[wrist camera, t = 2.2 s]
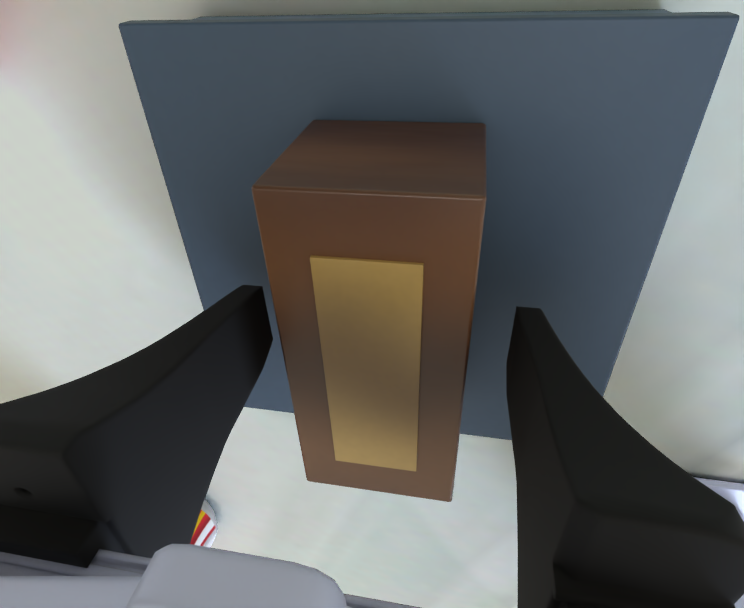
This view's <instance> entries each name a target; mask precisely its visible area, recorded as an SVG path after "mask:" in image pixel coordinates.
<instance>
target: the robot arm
mask: <svg viewBox="0 0 744 608" xmlns="http://www.w3.org/2000/svg"><path fill="white" fill-rule="evenodd" d="M272 342H273V336H272V331H271V326H270V321H269V316H268V311H267V306H266V302H265V297H264V292H263V287H262V286H254V285H241V286H240V287H238V288H237V289H235V290H234V291H232V292H231V293H229V294H228V295H226V296H225V297H223V298H222V299H220V300H219V301H218V302H216V303H215V304H213V305H212V306H211V307H209V308H208V309H206V310H205V311H203V312H202V313H200V314H199V315H197V316H196V317H195V318H193V319H192V320H190V321H189V322H187V323H186V324H184V325H182V326H181V327H179V328H178V329H176V330H175V331H173V332H171V333H170V334H168V335H167V336H165V337H163V338H162V339H160V340H159V341H157V342H155V343H153V344H152V345H150V346H148V347H146V348H144V349H142V350H141V351H139V352H137V353H135V354H133V355H131V356H129V357H127V358H125V359H123V360H121V361H119V362H116V363H114V364H112V365H110V366H107V367H105V368H103V369H101V370H98V371H96V372H94V373H92V374H89V375H87V376H84V377H82V378H79V379H77V380H74V381H71V382H69V383H66V384H63V385H60V386H57V387H55V388H52V389H49V390H46V391H43V392H40V393H37V394H33V395H30V396H26V397H23V398H19V399H16V400H13V401H9V402H6V403H2V404H0V608H420V607H414V606H409V605H403V604H398V603H392V602H387V601H381V600H376V599H370V598H365V597H359V596H354V595H349V594H343V592H342V591H341V589H340V588H339V586H338V585H337V583H336V582H335V580H334V579H332V578H330V577H329V576H327V575H325V574H324V573H322V572H321V571H319V570H317V569H315V568H311V567H308V566H305V565H301V564H298V563H295V562H290V561H284V560H278V559H272V558H267V557H261V556H255V555H250V554H244V553H238V552H232V551H227V550H221V549H215V548H210V547H204V546H198V545H192V544H190V543H191V539H192V536H193V533H194V530H195V527H196V524H197V520H198V517H199V514H200V511H201V508H202V505H203V502H204V499H205V496H206V494H207V491H208V488H209V485H210V482H211V480H212V477H213V474H214V471H215V469H216V466H217V463H218V461H219V458H220V456H221V453H222V451H223V448H224V445H225V443H226V441H227V439H228V436H229V434H230V432H231V430H232V428H233V426H234V424H235V422H236V420H237V418H238V416H239V415H240V413H241V411H242V409H243V407H244V405H245V403H246V401H247V399H248V397H249V395H250V393H251V392H252V390H253V388H254V386H255V384H256V382H257V380H258V378H259V376H260V374H261V372H262V370H263V368H264V365H265V362H266V359H267V357H268V354H269V351H270V348H271V345H272ZM506 395H507V404H508V412H509V420H510V428H511V436H512V444H513V451H514V459H515V468H516V480H517V523H518V608H744V484H742V483H734V482H726V481H718V480H711V479H703V478H695V477H692V476H691V475H690V474H688V473H687V472H686V471H684V470H683V469H682V468H680V467H679V466H678V465H676V464H675V463H674V462H673V461H671V460H670V459H669V458H667V457H666V456H665V455H664V454H662V453H661V452H660V451H659V450H657V449H656V448H655V447H654V446H653V445H651V444H650V443H649V442H648V441H647V440H646V439H645V438H644V437H642V436H641V435H640V434H639V433H638V432H637V431H636V430H635V429H633V428H632V427H631V426H630V425H629V424H628V423H627V422H626V421H625V420H624V419H623V418H622V417H621V416H620V415H619V414H618V413H617V412H616V411H615V410H614V409H613V408H612V407H611V406H610V405H609V404H608V403H607V402H606V400H605V399H604V398H603V397H602V396H601V395H600V394H599V392H598V391H597V390H596V389H595V388H594V386H593V385H592V384H591V383H590V381H589V380H588V379H587V378H586V376H585V375H584V374H583V373H582V371H581V370H580V369H579V367H578V366H577V364H576V363H575V362H574V360H573V359H572V357H571V356H570V354H569V353H568V352H567V350H566V349H565V347H564V346H563V344H562V343H561V341H560V339H559V338H558V336H557V335H556V333H555V331H554V330H553V328H552V326H551V325H550V323H549V321H548V319H547V318H546V316H545V314H544V312H543V311H542V310H541V309H540V308H531V307H518V306H516V312H515V317H514V323H513V329H512V334H511V340H510V345H509V351H508V356H507V362H506Z"/></svg>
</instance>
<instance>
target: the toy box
mask: <svg viewBox="0 0 744 608" xmlns="http://www.w3.org/2000/svg"><path fill="white" fill-rule="evenodd" d="M738 21H739V15H737V14H733V13H730V12H689V13H672V12H669V11H667V10H664V9H658V10H595V11H531V12H468V13H404V14H341V15H277V16H214V17H199V18H196V19H192V20H143V21H127V22H123V23H120V24H119V29H120V32H121V36H122V39H123V42H124V46H125V49H126V52H127V56H128V59H129V62H130V66H131V69H132V72H133V76H134V79H135V82H136V86H137V89H138V92H139V96H140V99H141V102H142V106H143V109H144V112H145V116H146V119H147V122H148V126H149V129H150V132H151V136H152V139H153V142H154V146H155V149H156V152H157V156H158V159H159V162H160V166H161V169H162V172H163V176H164V179H165V182H166V186H167V189H168V192H169V196H170V199H171V202H172V206H173V209H174V212H175V216H176V219H177V222H178V226H179V229H180V232H181V236H182V239H183V242H184V246H185V249H186V252H187V256H188V259H189V262H190V266H191V269H192V272H193V276H194V279H195V282H196V286H197V289H198V292H199V296H200V299H201V302H202V306H203V309H204V311H205V310H206V309H208V308H209V307H211V306H212V305H213V304H215V303H216V302H218V301H219V300H220V299H222V298H223V297H225V296H226V295H228V294H229V293H231V292H232V291H234V290H235V289H237V288H238V287H240V286H241V285H254V286H262V287H263V292H264V297H265V302H266V306H267V311H268V316H269V321H270V326H271V331H272V336H273V342H272V345H271V348H270V351H269V354H268V357H267V359H266V362H265V365H264V368H263V370H262V372H261V374H260V376H259V378H258V380H257V382H256V384H255V386H254V388H253V390H252V392H251V393H250V395H249V397H248V399H247V401H246V403H245V405H244V407H250V408H258V409H266V410H274V411H282V412H290V413H294V409H293V404H292V398H291V393H290V388H289V383H288V378H287V372H286V367H285V362H284V357H283V351H282V346H281V341H280V336H279V331H278V325H277V320H276V315H275V310H274V304H273V299H272V294H271V289H270V284H269V278H268V273H267V268H266V263H265V257H264V252H263V247H262V242H261V236H260V231H259V226H258V221H257V216H256V210H255V205H254V200H253V195H252V185H253V184H254V183H255V182H256V181H257V180H258V179H259V178H260V177H261V175H262V174H263V173H264V172H265V171H266V170H267V169H268V168H269V167H270V166H271V165H272V164H273V163H274V161H275V160H276V159H277V158H278V157H279V156H280V155H281V154H282V153H283V152H284V151H285V150H286V149H287V147H288V146H289V145H290V144H291V143H292V142H293V141H294V140H295V139H296V138H297V137H298V136H299V135H300V133H301V132H302V131H303V130H304V129H305V128H306V127H307V126H308V125H309V124H310V123H311V122H312V121H313V120H348V121H396V122H444V123H483V124H485V125H486V208H485V216H484V225H483V234H482V242H481V251H480V260H479V269H478V277H477V286H476V295H475V304H474V312H473V321H472V330H471V339H470V347H469V356H468V365H467V373H466V382H465V391H464V400H463V408H462V417H461V426H460V434H467V435H475V436H483V437H491V438H499V439H507V440H512V436H511V428H510V420H509V412H508V404H507V395H506V362H507V356H508V351H509V345H510V340H511V334H512V329H513V323H514V317H515V312H516V306H518V307H531V308H540V309H541V310H542V311H543V312H544V314H545V316H546V318H547V319H548V321H549V323H550V325H551V326H552V328H553V330H554V331H555V333H556V335H557V336H558V338H559V339H560V341H561V343H562V344H563V346H564V347H565V349H566V350H567V352H568V353H569V354H570V356H571V357H572V359H573V360H574V362H575V363H576V364H577V366H578V367H579V369H580V370H581V371H582V373H583V374H584V375H585V376H586V378H587V379H588V380H589V381H590V383H591V384H592V385H593V386H594V388H595V389H596V390H597V391H598V392H599V394H600V395H601V396H602V397H603V395H604V392H605V389H606V387H607V384H608V381H609V378H610V375H611V373H612V370H613V367H614V364H615V362H616V359H617V356H618V353H619V350H620V348H621V345H622V342H623V339H624V337H625V334H626V331H627V328H628V326H629V323H630V320H631V317H632V314H633V312H634V309H635V306H636V303H637V301H638V298H639V295H640V292H641V289H642V287H643V284H644V281H645V278H646V276H647V273H648V270H649V267H650V265H651V262H652V259H653V256H654V253H655V251H656V248H657V245H658V242H659V240H660V237H661V234H662V231H663V228H664V226H665V223H666V220H667V217H668V215H669V212H670V209H671V206H672V204H673V201H674V198H675V195H676V192H677V190H678V187H679V184H680V181H681V179H682V176H683V173H684V170H685V167H686V165H687V162H688V159H689V156H690V154H691V151H692V148H693V145H694V143H695V140H696V137H697V134H698V131H699V129H700V126H701V123H702V120H703V118H704V115H705V112H706V109H707V106H708V104H709V101H710V98H711V95H712V93H713V90H714V87H715V84H716V82H717V79H718V76H719V73H720V70H721V68H722V65H723V62H724V59H725V57H726V54H727V51H728V48H729V45H730V43H731V40H732V37H733V34H734V32H735V29H736V26H737V23H738Z"/></svg>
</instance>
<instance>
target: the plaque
mask: <svg viewBox="0 0 744 608" xmlns="http://www.w3.org/2000/svg"><path fill="white" fill-rule="evenodd" d="M252 195H253V200H254V205H255V210H256V216H257V221H258V226H259V231H260V236H261V242H262V247H263V252H264V257H265V263H266V268H267V273H268V278H269V284H270V289H271V294H272V299H273V304H274V310H275V315H276V320H277V325H278V331H279V336H280V341H281V346H282V351H283V357H284V362H285V367H286V372H287V378H288V383H289V388H290V393H291V398H292V404H293V409H294V414H295V419H296V425H297V430H298V435H299V440H300V446H301V451H302V456H303V461H304V466H305V472H306V477H307V480H308V481H311V482H318V483H325V484H332V485H338V486H345V487H352V488H359V489H366V490H372V491H379V492H386V493H393V494H399V495H406V496H413V497H420V498H427V499H433V500H440V501H447V502H451V500H452V496H453V487H454V478H455V470H456V461H457V452H458V443H459V435H460V426H461V417H462V408H463V400H464V391H465V382H466V373H467V365H468V356H469V347H470V339H471V330H472V321H473V312H474V304H475V295H476V286H477V277H478V269H479V260H480V251H481V242H482V234H483V225H484V216H485V208H486V125H485V124H483V123H444V122H396V121H348V120H313V121H312V122H311V123H310V124H309V125H308V126H307V127H306V128H305V129H304V130H303V131H302V132H301V133H300V135H299V136H298V137H297V138H296V139H295V140H294V141H293V142H292V143H291V144H290V145H289V146H288V147H287V149H286V150H285V151H284V152H283V153H282V154H281V155H280V156H279V157H278V158H277V159H276V160H275V161H274V163H273V164H272V165H271V166H270V167H269V168H268V169H267V170H266V171H265V172H264V173H263V174H262V175H261V177H260V178H259V179H258V180H257V181H256V182H255V183H254V184H253V185H252Z"/></svg>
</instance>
